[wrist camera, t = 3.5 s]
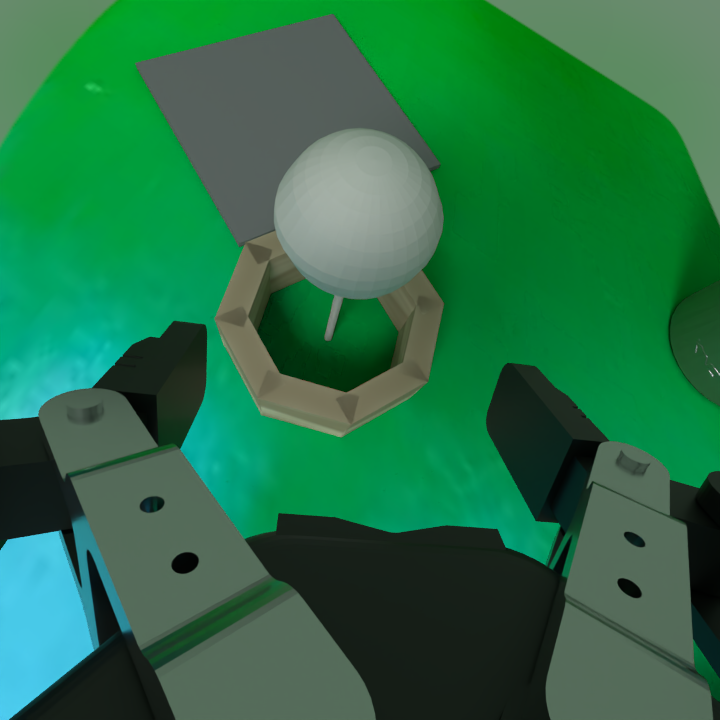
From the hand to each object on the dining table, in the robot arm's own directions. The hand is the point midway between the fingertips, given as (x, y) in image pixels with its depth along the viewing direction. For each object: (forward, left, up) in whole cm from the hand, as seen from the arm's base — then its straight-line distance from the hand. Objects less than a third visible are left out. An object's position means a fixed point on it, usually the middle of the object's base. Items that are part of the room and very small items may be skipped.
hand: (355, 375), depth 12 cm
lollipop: (-4, -5, -15) cm, 16 cm away
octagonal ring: (-4, -5, -14) cm, 16 cm away
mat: (-10, -21, -14) cm, 28 cm away
